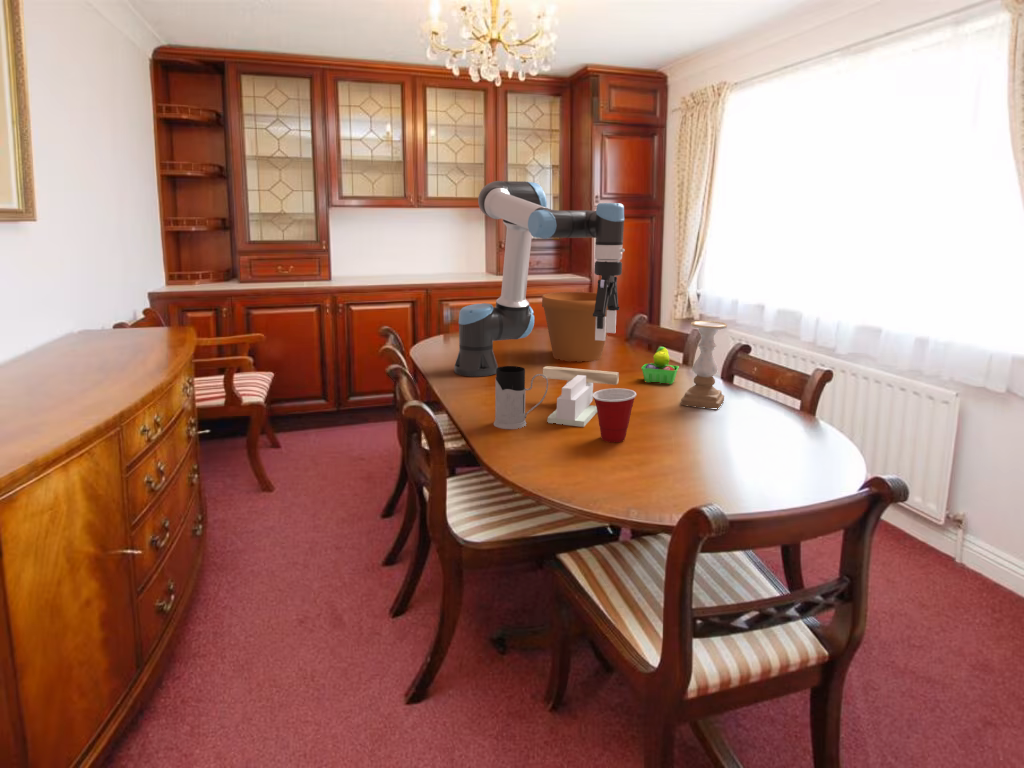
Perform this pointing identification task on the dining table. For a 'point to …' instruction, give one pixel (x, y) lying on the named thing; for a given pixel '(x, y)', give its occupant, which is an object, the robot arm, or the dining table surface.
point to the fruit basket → (660, 368)
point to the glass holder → (511, 397)
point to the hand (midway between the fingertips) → (605, 336)
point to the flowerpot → (572, 325)
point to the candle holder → (705, 369)
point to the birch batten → (591, 375)
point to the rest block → (590, 389)
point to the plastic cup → (614, 412)
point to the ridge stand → (574, 404)
